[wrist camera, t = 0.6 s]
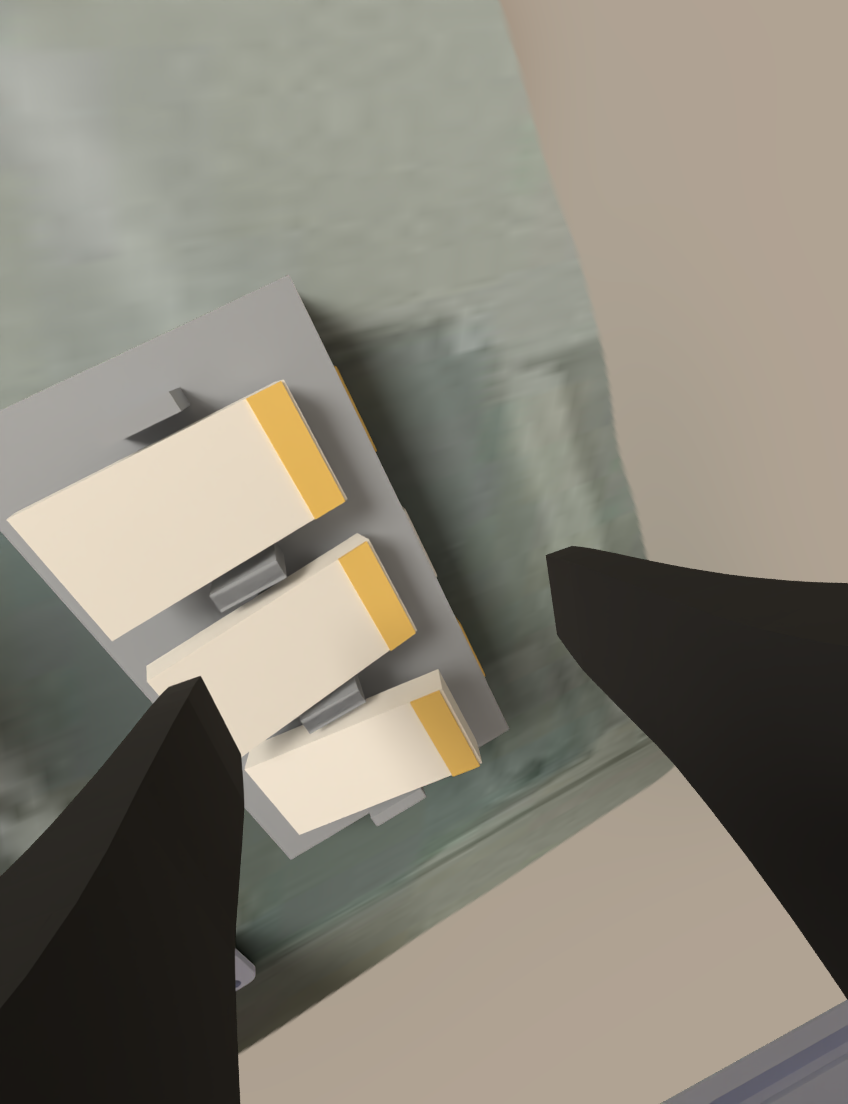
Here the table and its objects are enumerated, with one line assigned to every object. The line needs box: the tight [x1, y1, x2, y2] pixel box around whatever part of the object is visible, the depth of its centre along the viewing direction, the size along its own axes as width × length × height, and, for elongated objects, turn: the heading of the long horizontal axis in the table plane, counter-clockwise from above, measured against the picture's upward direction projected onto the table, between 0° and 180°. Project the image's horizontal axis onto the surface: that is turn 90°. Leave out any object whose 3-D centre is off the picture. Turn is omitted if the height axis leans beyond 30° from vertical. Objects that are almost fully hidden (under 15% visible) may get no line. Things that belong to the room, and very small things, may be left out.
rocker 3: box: [244, 669, 482, 835], centre depth 18 cm, size 7×4×1 cm, turn 114°
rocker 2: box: [146, 533, 417, 757], centre depth 16 cm, size 7×4×1 cm, turn 116°
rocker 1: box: [6, 380, 347, 641], centre depth 14 cm, size 7×4×1 cm, turn 116°
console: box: [0, 275, 509, 859], centre depth 18 cm, size 10×18×5 cm, turn 25°
